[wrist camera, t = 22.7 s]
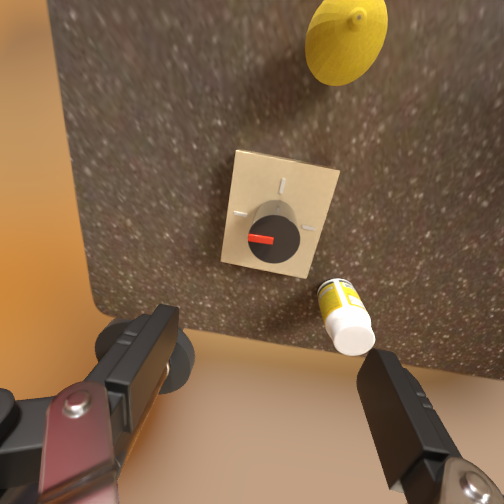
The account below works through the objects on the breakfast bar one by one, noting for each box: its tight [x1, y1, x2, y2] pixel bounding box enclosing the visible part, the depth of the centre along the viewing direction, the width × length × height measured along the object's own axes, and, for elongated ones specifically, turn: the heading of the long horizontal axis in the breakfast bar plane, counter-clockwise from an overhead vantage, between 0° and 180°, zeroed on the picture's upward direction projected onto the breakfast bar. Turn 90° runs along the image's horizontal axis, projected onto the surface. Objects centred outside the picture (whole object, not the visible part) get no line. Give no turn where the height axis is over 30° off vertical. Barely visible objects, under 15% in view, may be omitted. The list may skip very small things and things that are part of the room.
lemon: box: [305, 0, 388, 86], centre depth 19 cm, size 6×6×8 cm
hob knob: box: [248, 200, 300, 264], centre depth 23 cm, size 4×4×6 cm
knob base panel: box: [221, 149, 340, 279], centre depth 27 cm, size 12×10×3 cm
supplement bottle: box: [317, 279, 375, 356], centre depth 28 cm, size 5×5×8 cm
